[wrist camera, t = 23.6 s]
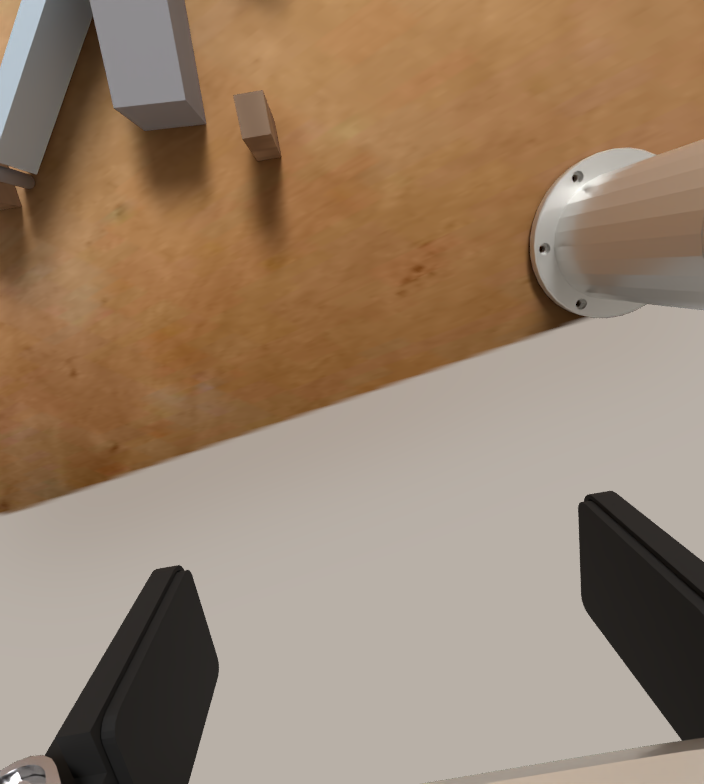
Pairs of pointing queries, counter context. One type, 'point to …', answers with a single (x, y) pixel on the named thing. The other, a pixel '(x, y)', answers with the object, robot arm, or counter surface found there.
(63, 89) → the door
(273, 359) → the counter surface
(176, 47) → the block
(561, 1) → the counter surface
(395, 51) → the counter surface
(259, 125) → the block
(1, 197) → the brown wooden block
